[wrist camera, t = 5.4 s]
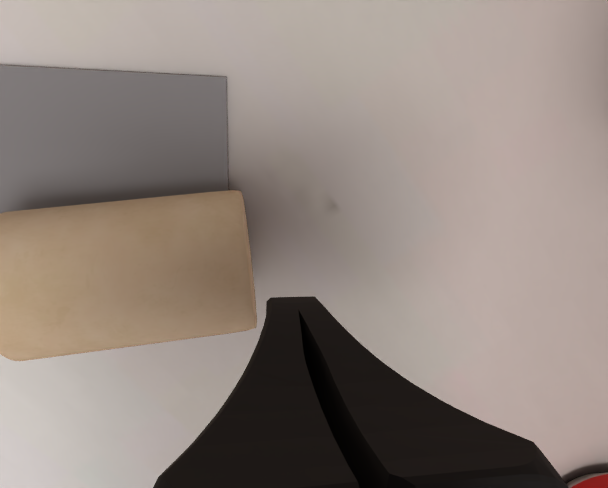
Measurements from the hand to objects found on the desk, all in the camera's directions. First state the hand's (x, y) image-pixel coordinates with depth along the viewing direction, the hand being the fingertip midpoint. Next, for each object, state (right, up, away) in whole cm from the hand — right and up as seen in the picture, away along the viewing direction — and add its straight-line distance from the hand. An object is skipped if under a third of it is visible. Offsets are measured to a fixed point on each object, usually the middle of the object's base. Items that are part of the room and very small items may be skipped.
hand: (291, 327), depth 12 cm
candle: (-2, +2, +5) cm, 5 cm away
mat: (-8, +3, +6) cm, 11 cm away
